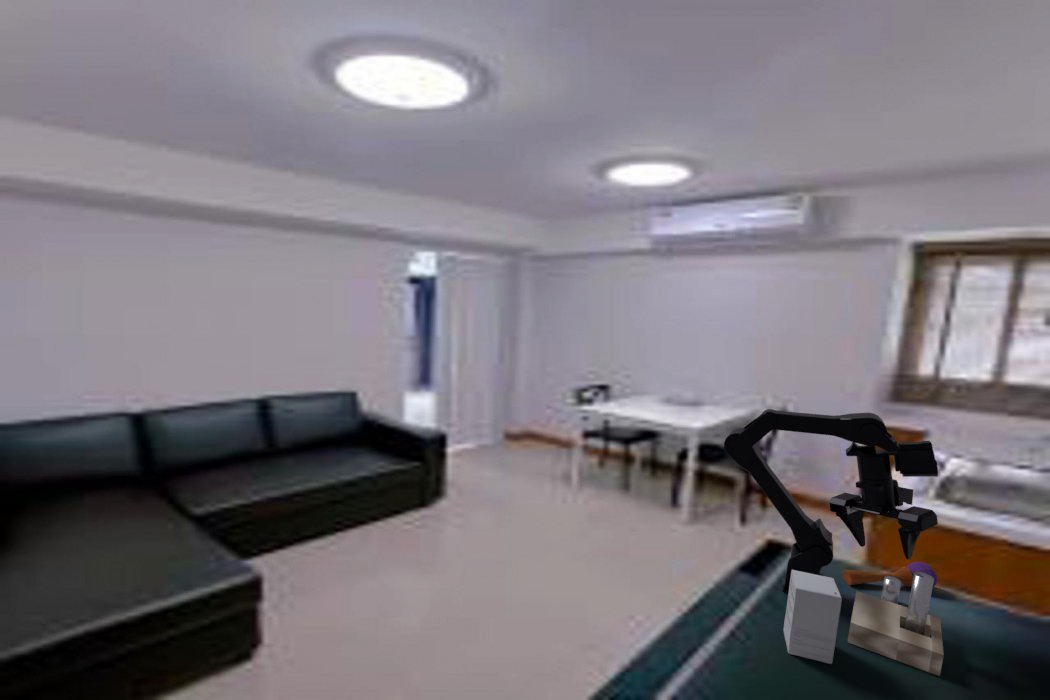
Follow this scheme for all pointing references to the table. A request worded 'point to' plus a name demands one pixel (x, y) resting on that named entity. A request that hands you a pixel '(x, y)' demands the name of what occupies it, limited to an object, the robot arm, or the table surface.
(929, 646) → the hole block
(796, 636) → the supplement box
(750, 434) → the robot arm
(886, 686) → the table surface
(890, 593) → the short pin
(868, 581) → the kendama
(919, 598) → the long pin
